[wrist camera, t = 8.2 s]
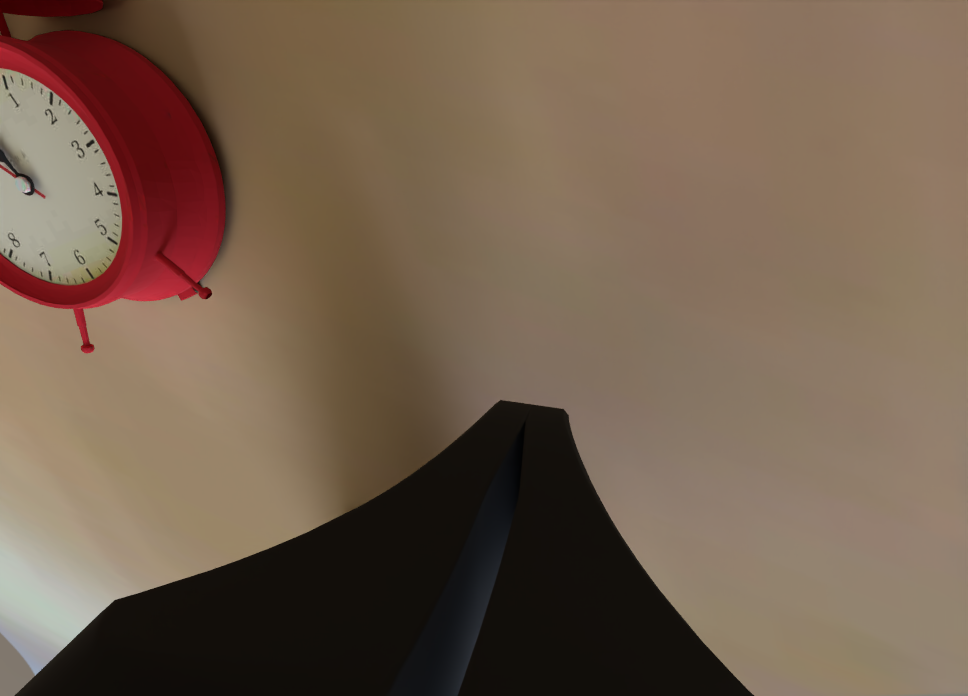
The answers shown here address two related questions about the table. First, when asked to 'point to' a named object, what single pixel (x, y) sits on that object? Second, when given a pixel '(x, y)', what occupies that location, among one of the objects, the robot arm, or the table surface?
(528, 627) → the robot arm
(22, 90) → the alarm clock
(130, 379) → the table surface
